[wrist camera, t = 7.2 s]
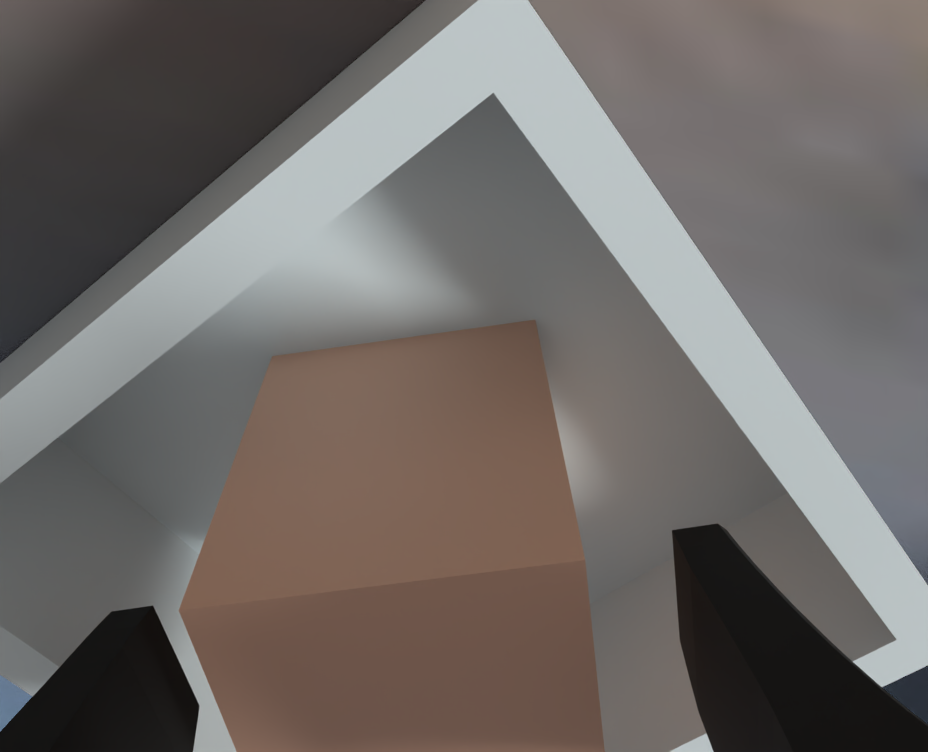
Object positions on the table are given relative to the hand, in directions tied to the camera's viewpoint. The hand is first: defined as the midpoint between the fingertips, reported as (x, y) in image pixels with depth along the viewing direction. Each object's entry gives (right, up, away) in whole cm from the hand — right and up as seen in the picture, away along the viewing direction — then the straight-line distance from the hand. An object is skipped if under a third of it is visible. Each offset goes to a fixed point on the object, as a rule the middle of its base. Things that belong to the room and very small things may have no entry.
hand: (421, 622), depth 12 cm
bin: (0, +2, +4) cm, 5 cm away
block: (0, +2, +4) cm, 4 cm away
